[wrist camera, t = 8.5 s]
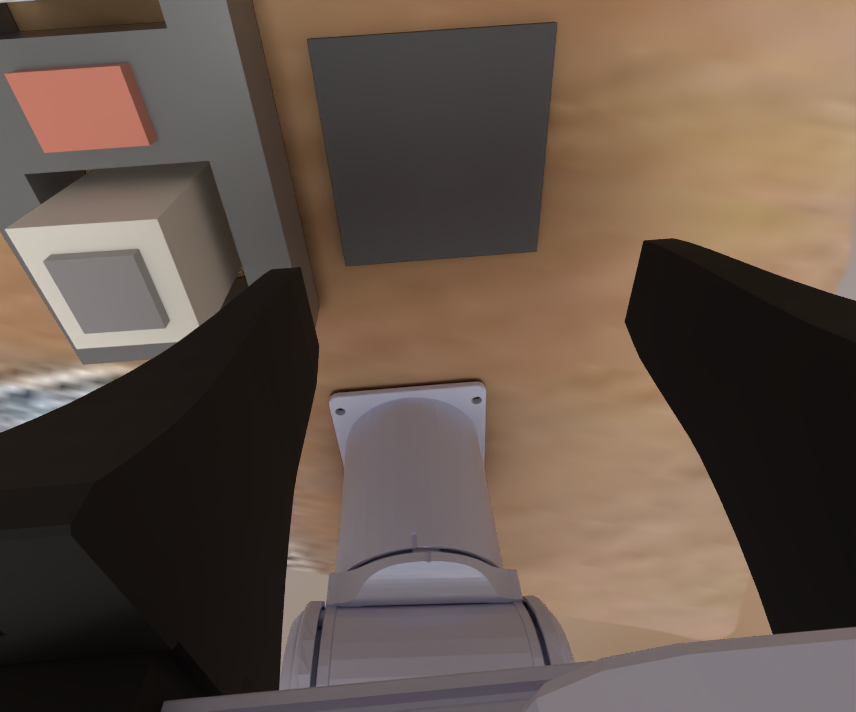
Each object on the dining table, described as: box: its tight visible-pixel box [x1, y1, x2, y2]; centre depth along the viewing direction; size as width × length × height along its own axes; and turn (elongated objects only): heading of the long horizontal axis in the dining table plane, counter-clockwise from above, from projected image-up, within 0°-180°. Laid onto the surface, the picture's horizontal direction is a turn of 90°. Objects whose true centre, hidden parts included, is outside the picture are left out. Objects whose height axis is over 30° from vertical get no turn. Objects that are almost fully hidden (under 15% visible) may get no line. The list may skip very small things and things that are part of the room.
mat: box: [307, 22, 557, 266], centre depth 18 cm, size 8×8×1 cm
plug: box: [5, 161, 242, 349], centre depth 17 cm, size 4×4×6 cm
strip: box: [0, 0, 319, 365], centre depth 15 cm, size 21×9×6 cm, turn 3°
